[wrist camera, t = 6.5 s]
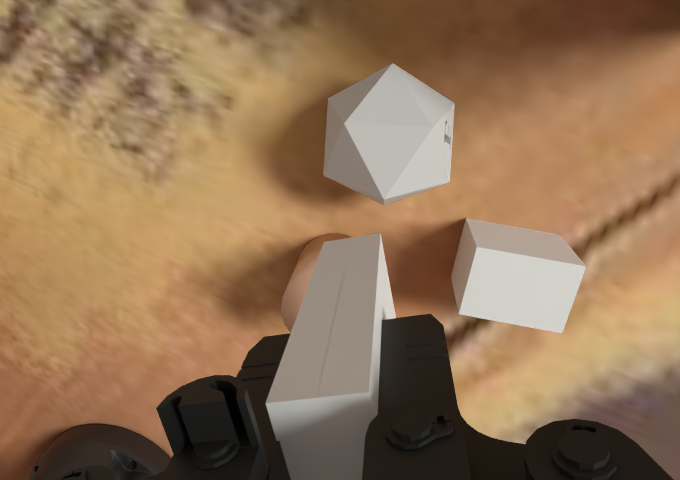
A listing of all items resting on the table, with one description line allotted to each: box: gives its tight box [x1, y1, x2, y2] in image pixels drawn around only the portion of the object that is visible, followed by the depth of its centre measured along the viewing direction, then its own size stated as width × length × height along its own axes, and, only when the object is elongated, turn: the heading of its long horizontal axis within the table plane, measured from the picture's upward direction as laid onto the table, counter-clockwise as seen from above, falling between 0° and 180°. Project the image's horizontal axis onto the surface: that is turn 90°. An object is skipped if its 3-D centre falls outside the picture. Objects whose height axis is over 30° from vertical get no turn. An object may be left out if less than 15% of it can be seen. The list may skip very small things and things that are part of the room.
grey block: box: [451, 218, 586, 333], centre depth 37 cm, size 7×5×6 cm
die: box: [323, 63, 455, 205], centre depth 33 cm, size 8×9×10 cm
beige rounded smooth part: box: [281, 233, 352, 332], centre depth 38 cm, size 6×6×7 cm
